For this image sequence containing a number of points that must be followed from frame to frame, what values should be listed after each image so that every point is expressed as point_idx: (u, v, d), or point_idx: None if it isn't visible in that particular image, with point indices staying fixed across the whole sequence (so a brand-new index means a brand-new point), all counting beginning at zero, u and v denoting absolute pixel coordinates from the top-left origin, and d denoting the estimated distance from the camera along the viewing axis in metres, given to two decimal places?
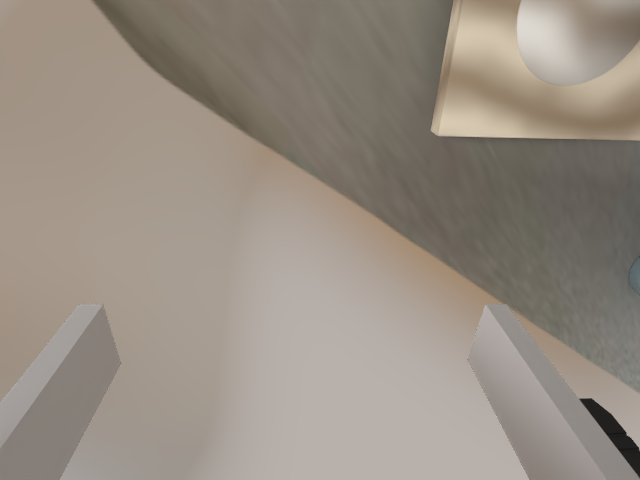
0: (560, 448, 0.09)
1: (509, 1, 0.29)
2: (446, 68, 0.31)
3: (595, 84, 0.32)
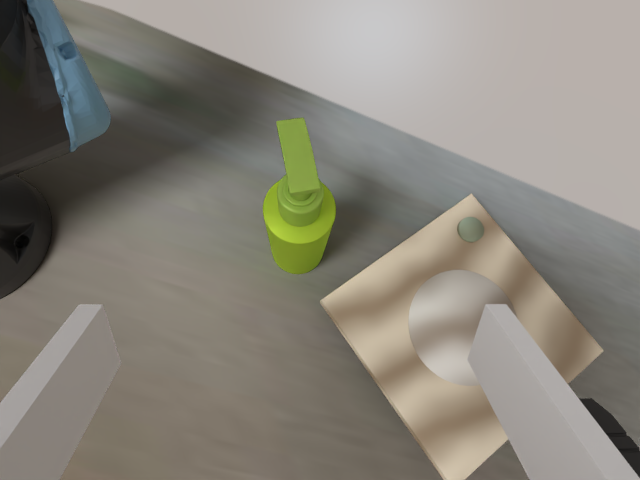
0: (560, 447, 0.09)
1: (412, 362, 0.35)
2: (412, 431, 0.34)
3: None
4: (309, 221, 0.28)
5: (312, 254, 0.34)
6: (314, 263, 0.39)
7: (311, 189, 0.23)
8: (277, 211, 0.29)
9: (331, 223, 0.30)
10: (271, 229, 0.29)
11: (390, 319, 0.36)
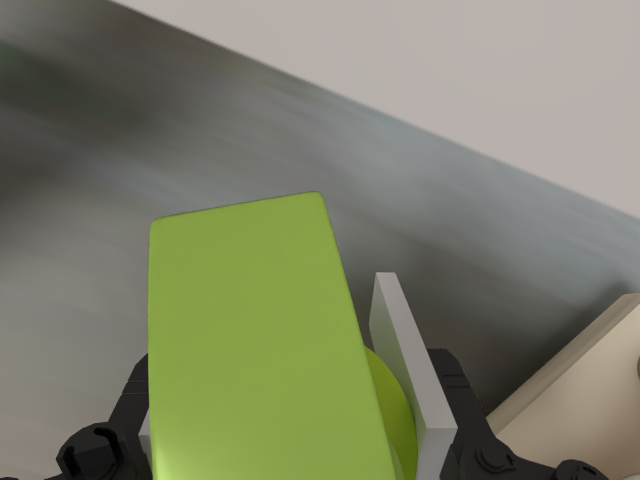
0: (403, 386, 0.11)
1: None
2: None
3: None
4: None
5: None
6: None
7: None
8: None
9: None
10: None
11: None
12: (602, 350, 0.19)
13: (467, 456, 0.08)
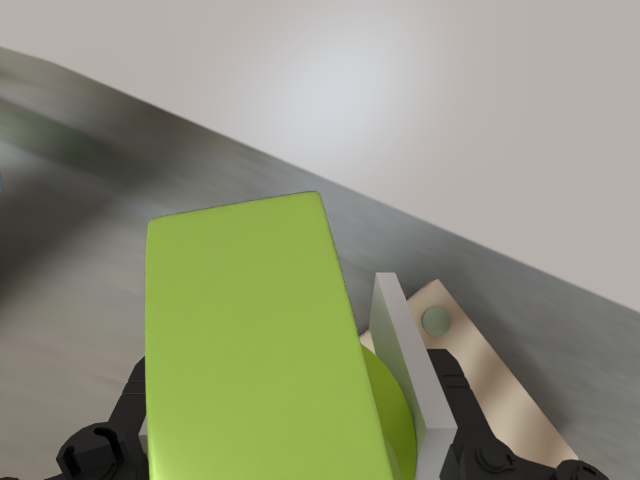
0: (402, 385, 0.11)
1: None
2: None
3: None
4: None
5: None
6: None
7: None
8: None
9: None
10: None
11: None
12: None
13: (467, 456, 0.08)
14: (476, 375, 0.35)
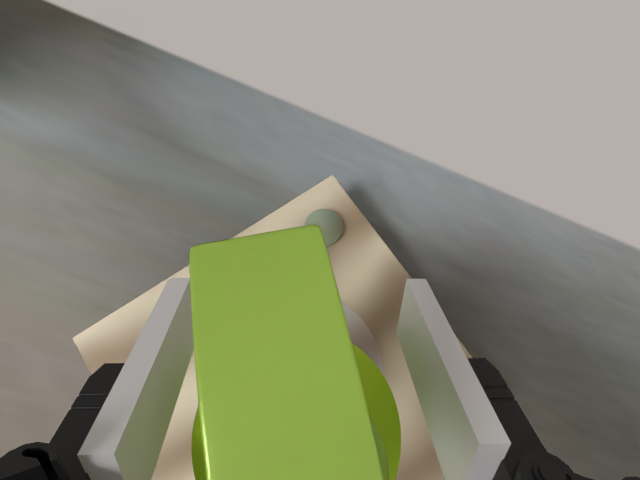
0: (445, 397, 0.10)
1: None
2: None
3: None
4: None
5: None
6: None
7: None
8: None
9: None
10: None
11: None
12: (281, 213, 0.26)
13: (523, 471, 0.08)
14: (376, 300, 0.25)
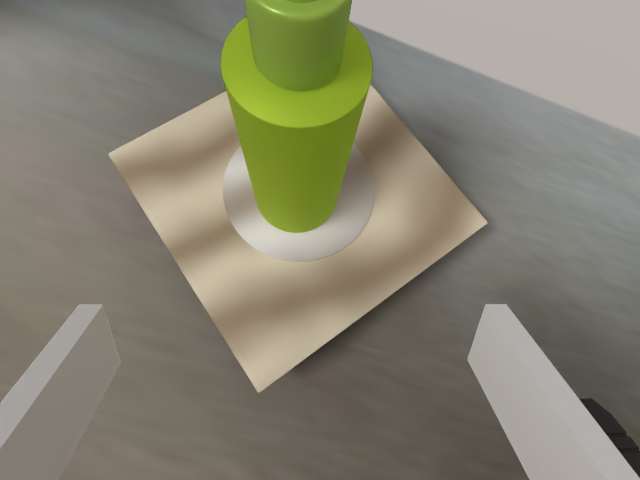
0: (560, 448, 0.09)
1: (222, 232, 0.26)
2: None
3: (375, 224, 0.27)
4: (319, 70, 0.13)
5: (322, 177, 0.18)
6: (323, 210, 0.23)
7: None
8: (250, 62, 0.14)
9: (364, 89, 0.14)
10: (237, 98, 0.14)
11: (199, 179, 0.27)
12: None
13: None
14: (367, 132, 0.29)
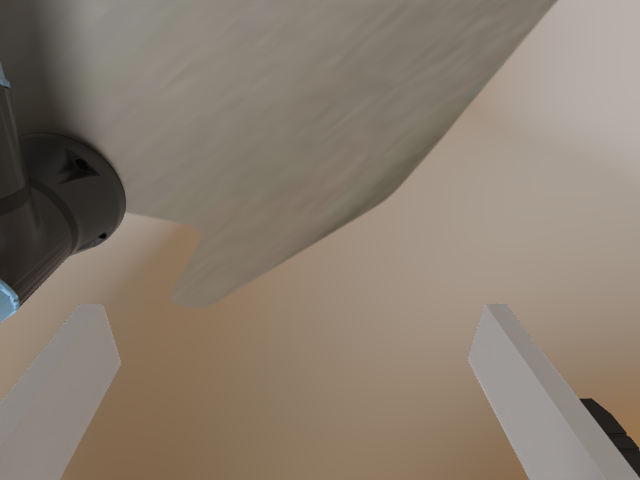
0: (560, 447, 0.09)
1: None
2: None
3: None
4: None
5: None
6: None
7: None
8: None
9: None
10: None
11: None
12: None
13: None
14: None
